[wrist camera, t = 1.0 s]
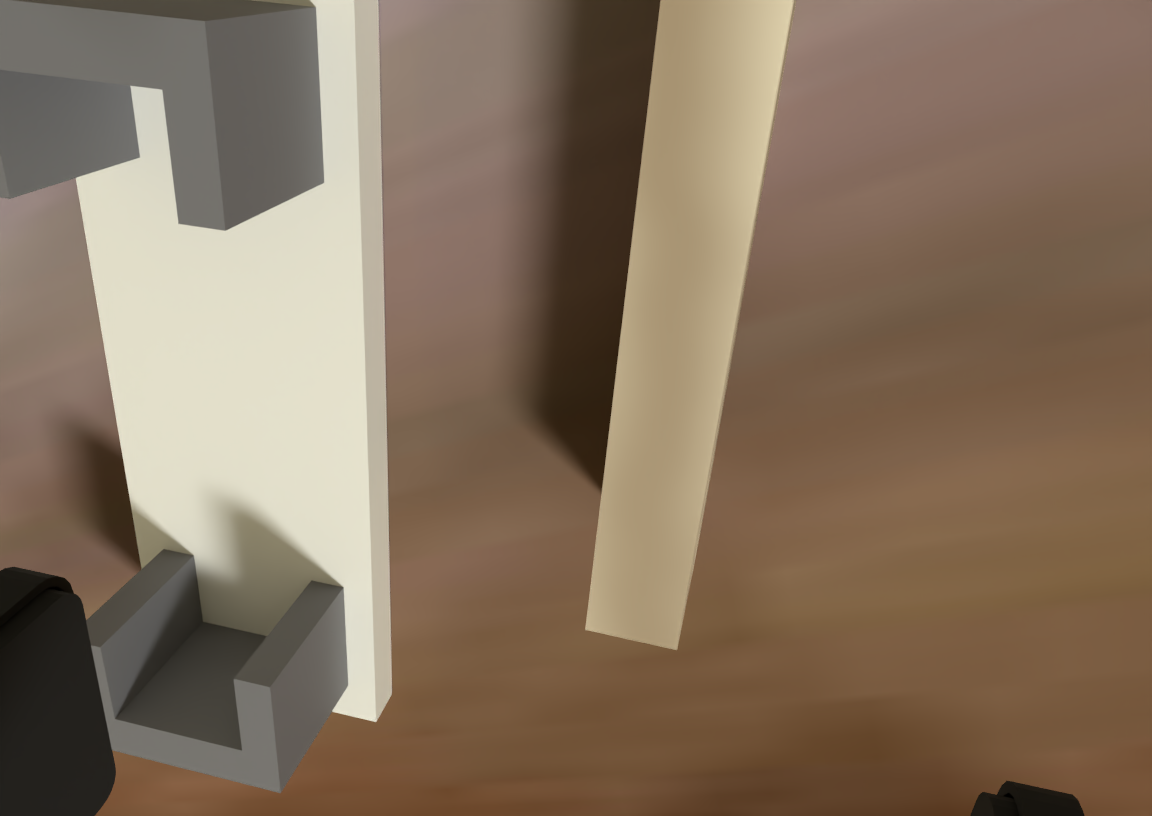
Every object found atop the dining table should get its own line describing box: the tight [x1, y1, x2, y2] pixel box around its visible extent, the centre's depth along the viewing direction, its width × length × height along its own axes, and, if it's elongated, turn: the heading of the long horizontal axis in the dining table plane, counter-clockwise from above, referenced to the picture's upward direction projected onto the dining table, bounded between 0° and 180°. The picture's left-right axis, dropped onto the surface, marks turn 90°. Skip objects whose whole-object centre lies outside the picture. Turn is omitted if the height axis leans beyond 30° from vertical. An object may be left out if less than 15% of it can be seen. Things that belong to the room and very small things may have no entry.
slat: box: [585, 0, 796, 650], centre depth 24 cm, size 2×18×6 cm, turn 175°
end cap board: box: [0, 0, 392, 793], centre depth 28 cm, size 9×26×6 cm, turn 175°
